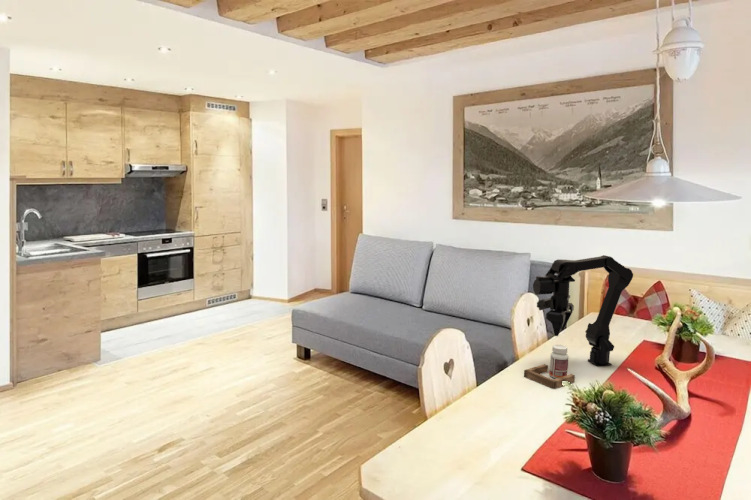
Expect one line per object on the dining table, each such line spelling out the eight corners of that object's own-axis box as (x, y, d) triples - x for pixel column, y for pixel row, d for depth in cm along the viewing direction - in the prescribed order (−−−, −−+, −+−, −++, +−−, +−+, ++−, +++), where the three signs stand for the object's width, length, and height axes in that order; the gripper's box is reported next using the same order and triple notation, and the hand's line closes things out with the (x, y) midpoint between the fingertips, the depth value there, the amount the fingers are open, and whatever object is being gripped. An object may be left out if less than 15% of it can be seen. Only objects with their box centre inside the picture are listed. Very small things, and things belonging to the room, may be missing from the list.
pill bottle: (570, 377, 190) (572, 347, 188) (559, 381, 187) (561, 350, 185) (556, 372, 195) (558, 343, 194) (545, 375, 192) (547, 345, 190)
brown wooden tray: (544, 370, 196) (544, 364, 196) (574, 382, 186) (574, 375, 186) (523, 376, 190) (524, 370, 190) (553, 388, 179) (554, 382, 179)
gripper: (545, 286, 210) (544, 323, 212) (532, 295, 194) (531, 336, 197) (574, 289, 204) (573, 327, 206) (563, 299, 189) (561, 340, 191)
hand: (559, 332), depth 200 cm, fingers open, 9 cm apart
